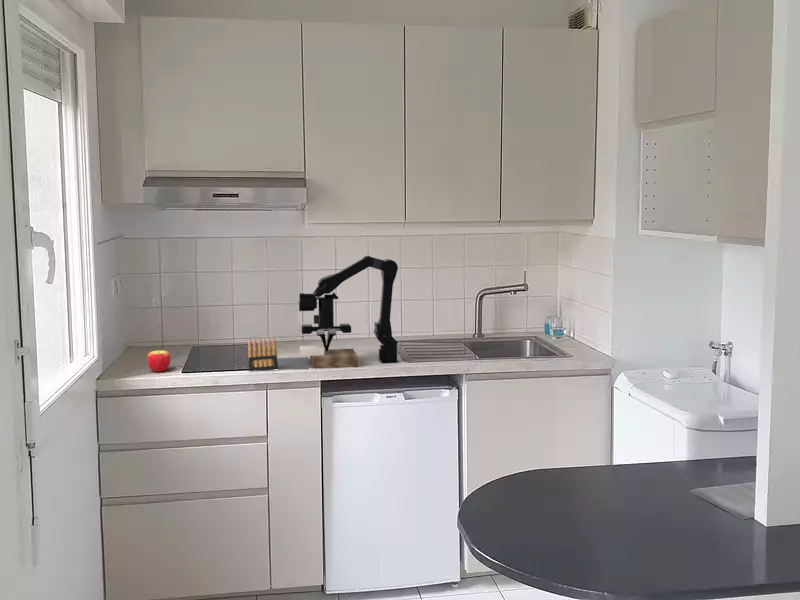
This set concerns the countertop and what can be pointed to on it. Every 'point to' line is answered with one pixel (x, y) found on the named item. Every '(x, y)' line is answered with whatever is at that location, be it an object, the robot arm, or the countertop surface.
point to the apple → (158, 360)
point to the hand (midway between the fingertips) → (326, 350)
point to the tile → (311, 350)
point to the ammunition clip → (262, 355)
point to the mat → (293, 363)
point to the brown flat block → (335, 359)
